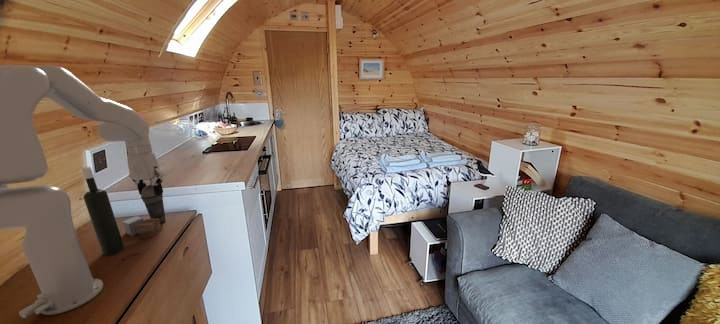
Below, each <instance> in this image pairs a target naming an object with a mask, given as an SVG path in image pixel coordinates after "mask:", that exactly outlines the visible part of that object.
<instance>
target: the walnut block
mask: <svg viewBox="0 0 720 324" xmlns="http://www.w3.org/2000/svg"><path fill="white" fill-rule="evenodd" d="M137 228H138V232H139V233H138V235H139V237H140V238H150V237H149V236H153V237H155V236H156V235H158V234H159V233H160V232H161V231H162V230H163V229H162V225H161V223H160V221H159V218H156V219H150V218H147V219H144V221H143V222H141V223H140V224H138V225H137ZM159 231H160V232H159ZM158 232H159V233H158ZM157 233H158V234H157Z"/></svg>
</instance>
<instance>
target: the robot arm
mask: <svg viewBox="0 0 720 324" xmlns="http://www.w3.org/2000/svg"><path fill="white" fill-rule="evenodd" d="M43 99H49V100H51V101H52V102H54V103H55V104H57V105H59V106H60V107H62V108H63V109H65V110H66V111H67V112H69V113H70V114H72V115H73V116H75V117H77V118H79V119H82V120H83V119H84V120H87V121H94V122H101V123H100V125H99V126H98V127H97V134H98V135H99V137H100V138H101V139H102V140H104V141H106V142H111V143H113V142H114V143H115V142H116V143H117V142H124V143H125V146H126V147H125V148H126V150H127V158H126V159H127V160H126V161H127V167H128V172H129V174H128V178H130V179H131V180H132V182H134V184H135V186H136V187H137V190H138V193H139V195H140V196H141V192H142V190H143V188H144V187H146V186H147V184H146V182H145V181H147V180H148V181H150V180H151V181H152V185H154V186H153V188H154V191H155V195H159V194H161V193H162V194H164V190H163V189H164V188H163V185H162V184H163V181H164V179H165V177H166V174H165V173H164V172H163V171H161V168H160V165H159V162H158V160H157V157H156V155H155V153H154V152H153V148H152V146H151V145H152V144H151V140H150V137H149V134H150V126H149V124H148V123H147V121H146V120H145V119H144V118H143V117H142V116H141V115H140V114H139V113H138V112H137V111H135V110H134V109H132V108H131V107H128V106H127V105H125V104H121V103H118V102H117V101H113V100H111V99H107V98H104V97H102V96H100V95H98V94H97V93H96V92H95V91H93V90H92V89H91V88H90V87H88V85H86V84H85V83H84V82H83V81H82V80H80V79H79V78H78V77H76V76H75V75H74V74H73V73H72V72H70V71H69V70H67V69H66V68H64V67H61V66H59V65H54V64H53V65H52V64H51V65H49V64H48V65H45V64H43V65H25V64H23V65H22V64H8V65H6V64H5V65H0V230H5V229H14V228H15V229H16V228H25V232H24V236H23V239H22V243H21V244H22V251H23V253H24V255H25V257H26V259H27V261H28V262H27V263H28V264H29V267H30V268H31V271H32V273H33V275H34V277H35V280H36V283H37V285H38V287H39V289H40V291H41V293H39V294H37V295H36V297H37V299H36V300H35V301H33V302H34V303H31V304H30V305H28V306H27V307H25V308H23V309H22V310H20V311H19V312H18V315H19V316H20V317H21V318H23V319H25V318H27V317H29V316H30V315H32V314H34V313H35V314H36V315H39V314H41V315H44V316H46V315H47V316H53V315H58V314H62V313H66V312H68V311H71V310H73V309H76V308H78V307H80V306H82V305H84V304H87V302H89V301H91V300H92V299H94V298H95V297H96V296H97V295H99V293H100V292H101V291H102V290H103V288H104V283H103V280H101V279H99V278H94V277H93V274H92V272H91V270H90V267H89V265H88V262H87V259H86V256H85V253H84V251H83V248H82V245H81V243H80V239H79V238H78V237H79V236H78V234H77V232H76V231H77V230H76V229H75V225H74V221H73V217H72V205H71V204H72V203H71V199H70V196H69V194H68V192H66V191H65V190H64V189H62V188H60V187H58V186H54V185H31V186H20V187H11V188H9V186H8V185H11V184H13V185H15V184H21V183H28V182H33V181H37V180H40V179H42V178H43V177H45V176H46V174H47V173H48V162H47V159H46V156H45V153H44V150H43V147H42V144H41V142H40V139H39V136H38V133H37V130H36V128H35V124H34V113H35V111H36V108H37V106H38V105H39V104H40V102H41V101H42V100H43Z"/></svg>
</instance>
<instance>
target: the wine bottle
mask: <svg viewBox="0 0 720 324" xmlns="http://www.w3.org/2000/svg"><path fill="white" fill-rule="evenodd" d="M81 169H82V174H83V176H84V177H83V178H84V179H85V181H86V183H87V184H86V185H87V187H88V191H87V192H86V193H84V195H83V200H84V203H85V207H86V209H87V212H88V215H89V217H90V220H91V223H92V226H93V229H94V232H95V235H96V238H97V241H98V244H99V246H100V250H101V252H102V254H103V256H106V257H108V256H113V255H116V254H119V253H120V252H122V251H123V250H125V245H124V242H123V239H122V236H121V233H120V230H119V226H118V223H117V220H116V217H115V214H114V211H113V208H112V204H111V200H110V198H109V195H108V192H107V191H106V190H105V189H99V188H98V187H97V183H96V180H95V176H94V173H93V170H92V168H91V166H85V167H82V168H81Z"/></svg>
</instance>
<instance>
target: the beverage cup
mask: <svg viewBox="0 0 720 324" xmlns="http://www.w3.org/2000/svg"><path fill="white" fill-rule="evenodd" d="M153 186H154V184H153V182H152V181H151V180H149V185H146V187H144V188H143V190H142V192H141V195H140V198H141V200H142V202H143V203H144V206H145V208H146V211H147V214H148V216H149V219H156V218H159V221H160V224H161V223H164V222H165V221H166V212H165V205H164V199H163V198H164V195H163V194H164V193H161V194H159V195H155V191H154V188H153Z"/></svg>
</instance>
